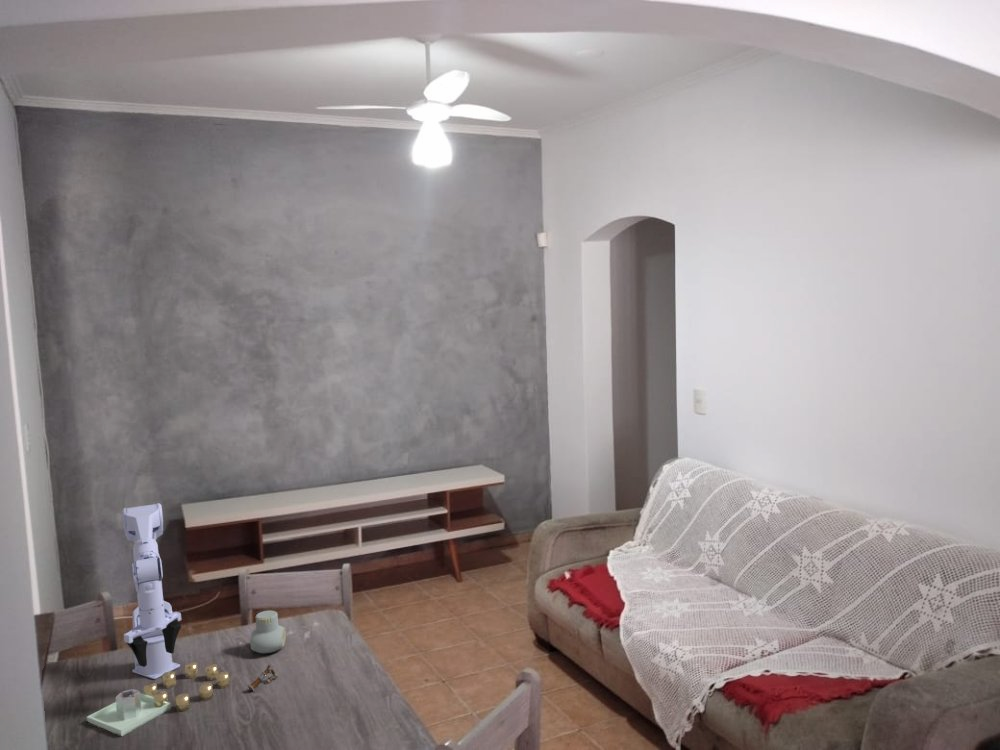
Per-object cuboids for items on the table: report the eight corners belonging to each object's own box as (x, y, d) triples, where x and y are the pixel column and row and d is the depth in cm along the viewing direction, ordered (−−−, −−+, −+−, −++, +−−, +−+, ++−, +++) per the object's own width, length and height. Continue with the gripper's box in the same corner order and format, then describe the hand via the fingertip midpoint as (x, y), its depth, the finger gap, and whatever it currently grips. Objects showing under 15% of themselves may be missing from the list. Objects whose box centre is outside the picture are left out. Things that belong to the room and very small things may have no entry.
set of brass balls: (134, 700, 195) (132, 689, 195) (195, 668, 210) (194, 657, 210) (179, 716, 186) (178, 704, 186) (239, 682, 202) (238, 671, 201)
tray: (87, 722, 186) (86, 716, 186) (137, 696, 197) (136, 691, 197) (121, 736, 179) (120, 730, 179) (171, 708, 190) (170, 702, 190)
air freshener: (257, 641, 225) (254, 607, 224) (287, 638, 226) (284, 605, 225) (250, 659, 214) (246, 624, 213) (281, 656, 215) (278, 621, 214)
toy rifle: (281, 674, 203) (274, 662, 201) (258, 699, 198) (251, 686, 196) (277, 672, 204) (270, 660, 202) (254, 697, 199) (246, 684, 197)
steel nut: (114, 716, 187) (111, 696, 187) (131, 707, 191) (129, 687, 190) (127, 721, 185) (125, 701, 184) (145, 712, 188) (142, 692, 188)
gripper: (134, 620, 187) (140, 675, 188) (186, 598, 199) (191, 649, 200) (116, 615, 190) (122, 669, 192) (168, 593, 202) (173, 644, 204)
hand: (156, 658), depth 196 cm, fingers open, 7 cm apart
